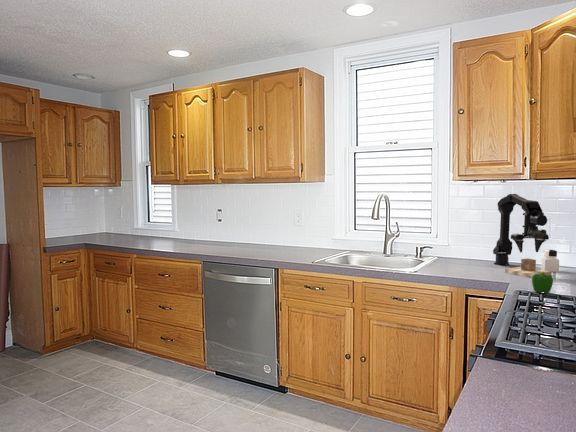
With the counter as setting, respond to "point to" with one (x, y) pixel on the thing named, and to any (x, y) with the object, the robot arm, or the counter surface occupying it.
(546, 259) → the medicine bottle
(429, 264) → the counter surface
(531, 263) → the walnut block
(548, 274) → the birch base
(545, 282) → the bell pepper
